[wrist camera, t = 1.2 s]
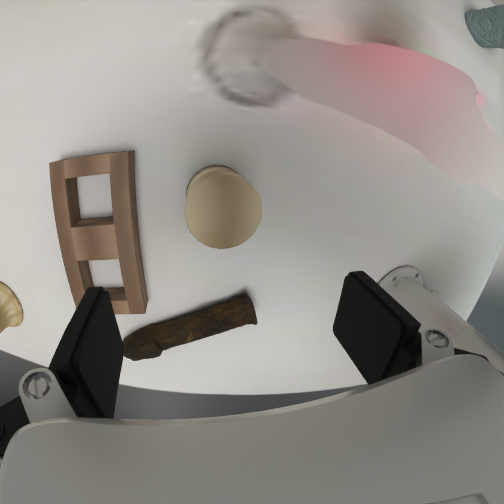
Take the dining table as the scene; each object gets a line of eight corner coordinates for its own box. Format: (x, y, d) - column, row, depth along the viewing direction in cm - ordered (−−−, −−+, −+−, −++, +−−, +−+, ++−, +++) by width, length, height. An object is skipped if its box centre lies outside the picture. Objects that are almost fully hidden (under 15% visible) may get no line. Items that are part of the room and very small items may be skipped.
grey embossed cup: (488, 34, 23) (527, 34, 13) (485, 60, 26) (529, 62, 15) (463, 1, 20) (504, -5, 9) (460, 24, 23) (506, 19, 12)
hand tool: (247, 286, 34) (254, 306, 30) (254, 310, 36) (262, 331, 32) (115, 323, 33) (108, 345, 29) (128, 344, 34) (123, 366, 30)
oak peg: (240, 162, 28) (264, 174, 19) (238, 213, 30) (260, 247, 21) (186, 162, 27) (183, 174, 18) (187, 214, 29) (185, 250, 20)
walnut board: (134, 150, 25) (127, 151, 22) (148, 299, 32) (145, 313, 29) (61, 159, 23) (49, 162, 20) (85, 300, 30) (78, 314, 27)
